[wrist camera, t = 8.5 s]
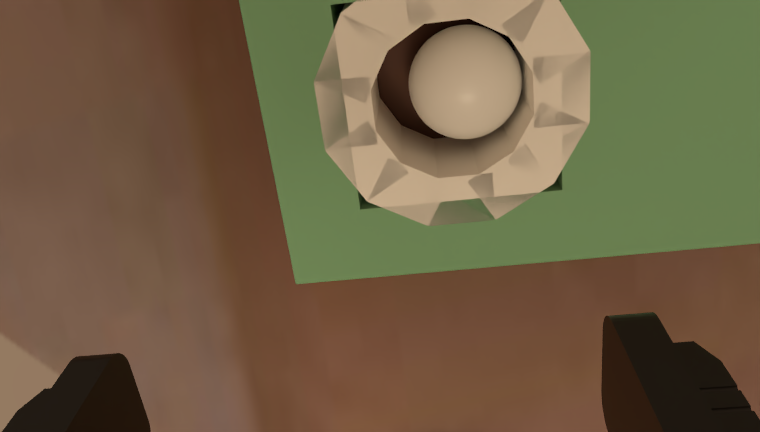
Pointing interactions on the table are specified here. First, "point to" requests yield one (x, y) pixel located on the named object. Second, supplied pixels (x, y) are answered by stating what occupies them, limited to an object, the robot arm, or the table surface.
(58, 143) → the table surface
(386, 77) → the table surface
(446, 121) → the ball
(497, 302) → the table surface
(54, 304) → the table surface
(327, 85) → the green flat block
